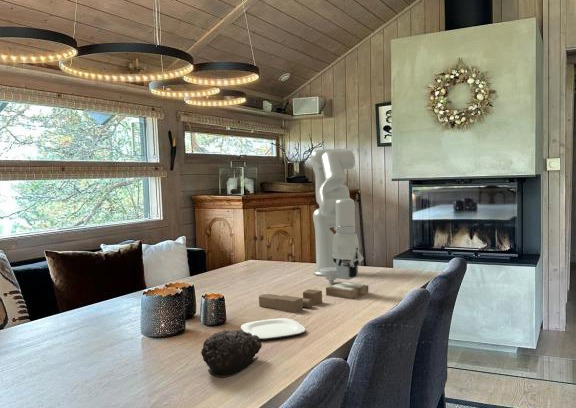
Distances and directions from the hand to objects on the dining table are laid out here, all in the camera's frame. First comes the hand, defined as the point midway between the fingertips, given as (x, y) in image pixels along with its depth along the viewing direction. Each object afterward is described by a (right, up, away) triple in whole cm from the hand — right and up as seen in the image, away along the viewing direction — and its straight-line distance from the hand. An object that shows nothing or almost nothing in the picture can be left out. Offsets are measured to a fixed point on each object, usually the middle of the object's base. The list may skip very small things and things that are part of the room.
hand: (346, 275), depth 203 cm
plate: (-28, -11, -45) cm, 54 cm away
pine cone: (-37, -13, -73) cm, 83 cm away
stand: (0, -7, 0) cm, 7 cm away
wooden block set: (-22, -9, -13) cm, 27 cm away
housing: (0, -1, 0) cm, 1 cm away
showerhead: (-4, -7, +21) cm, 23 cm away
